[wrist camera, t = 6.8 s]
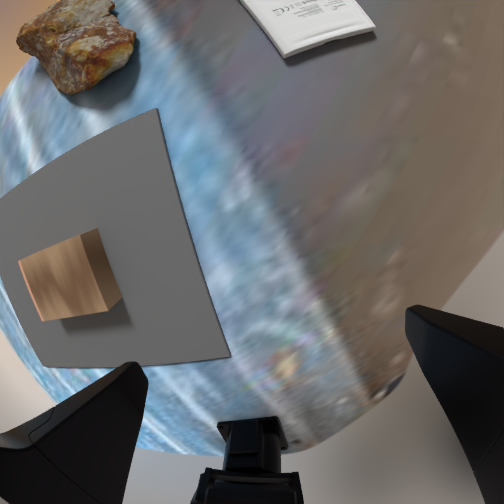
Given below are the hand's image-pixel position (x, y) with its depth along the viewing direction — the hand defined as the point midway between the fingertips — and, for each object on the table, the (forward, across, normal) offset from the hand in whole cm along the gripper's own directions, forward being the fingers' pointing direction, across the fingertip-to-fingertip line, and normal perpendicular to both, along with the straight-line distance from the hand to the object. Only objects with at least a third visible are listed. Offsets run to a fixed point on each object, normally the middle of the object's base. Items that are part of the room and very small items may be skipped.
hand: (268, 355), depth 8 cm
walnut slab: (+10, +12, -2) cm, 16 cm away
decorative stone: (+12, +11, -22) cm, 28 cm away
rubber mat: (+12, +18, -2) cm, 21 cm away
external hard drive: (+13, -7, -20) cm, 25 cm away
